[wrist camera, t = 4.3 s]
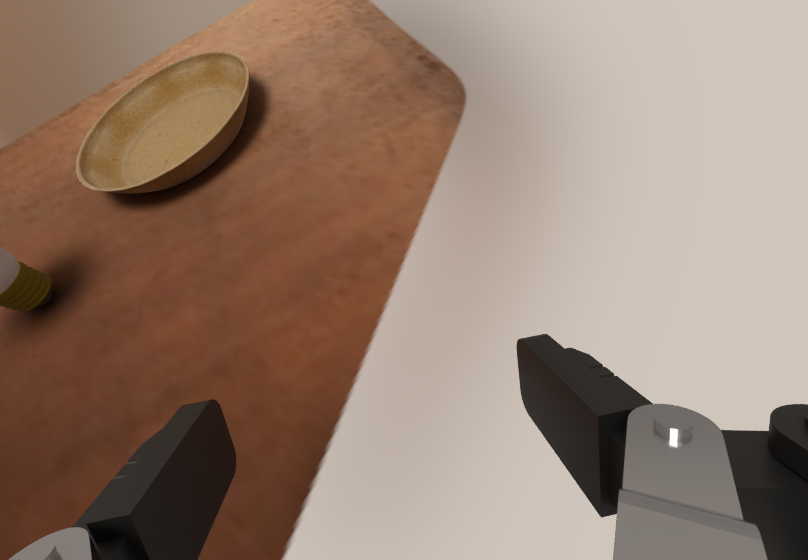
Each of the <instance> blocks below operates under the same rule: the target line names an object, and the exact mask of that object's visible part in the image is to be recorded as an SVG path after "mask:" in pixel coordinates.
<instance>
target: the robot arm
mask: <svg viewBox="0 0 808 560" xmlns="http://www.w3.org/2000/svg"><path fill="white" fill-rule="evenodd" d="M517 357H518V368H519V379H520V389H521V396H522V400H523V403H524V406H525V408H526V410H527V412H528V414H529V416H530V417H531V419H532V420H533V421H534V423H535V424H536V426H537V427H538V429H539V430H540V431H541V433H542V434H543V435H544V437H545V438H546V440H547V441H548V443H549V444H550V446H551V447H552V448H553V450H554V451H555V453H556V454H557V455H558V457H559V458H560V460H561V461H562V463H563V464H564V465H565V467H566V468H567V470H568V471H569V472H570V474H571V475H572V477H573V478H574V480H575V481H576V482H577V484H578V485H579V487H580V488H581V489H582V491H583V492H584V494H585V495H586V496H587V498H588V499H589V501H590V502H591V504H592V505H593V506H594V508H595V509H596V511H597V512H598V514H599V515H600V516H601V517H605V516H610V515H614V514H617V521H616V532H615V545H614V556H613V560H808V405H805V404H793V405H785V406H781V407H778V408H776V409H775V410H773V412H772V413H771V416H770V425H769V431H732V430H720V429H719V428H718V426H717V425H716V424H715V423H713V422H712V421H711V420H710V419H708V418H707V417H705V416H703V415H701V414H699V413H697V412H695V411H692V410H689V409H687V408H683V407H679V406H674V405H667V404H652V403H651V402H650V401H649V400H647V399H646V398H645V397H643V396H642V395H641V394H639V393H638V392H637V391H636V390H634V389H633V388H632V387H630V386H629V385H628V384H627V383H625V382H624V381H623V380H621V379H620V378H619V377H618V376H614V373H612V372H611V371H610V370H608V369H607V368H606V367H603V365H602V364H601V363H599V362H598V361H597V360H595V359H594V358H593V357H592V356H590V355H589V354H586V353H583V352H581V351H578V350H576V349H573V348H566V349H564V348H563V347H562V346H561V345H560V344H558V343H557V342H556V341H555V340H553V339H552V338H551V337H550V336H549V335H547V334H542V335H537V336H532V337H527V338H522V339H519V340H518V341H517ZM235 470H236V453H235V448H234V445H233V442H232V439H231V436H230V433H229V430H228V427H227V424H226V421H225V418H224V415H223V412H222V409H221V407H220V405H219V403H218V402H217V401H216V400H213V399H212V400H207V401H202V402H197V403H192V404H187V405H183V406H181V407H180V408H179V409H178V411H177V412H176V413H175V414H174V415H173V417H172V418H171V419H170V420H169V422H168V423H167V424H166V425H165V427H164V428H163V429H161V430H160V431H159V432H157V433H156V434H155V435H154V436H152V437H151V438H150V439H148V440H147V441H146V442H145V443H143V444H142V445H141V446H140V447H139V448H138V449H137V451H136V452H135V453H134V454H133V455H132V457H131V458H130V459H129V460H128V461H127V465H124V466H123V467H122V469H121V470H120V471H119V472H118V473H117V474H116V476H115V479H113V480H111V482H110V483H109V484H108V485H107V486H106V488H105V489H104V490H103V491H102V492H101V494H100V495H99V496H98V497H97V498H96V499H95V501H94V502H93V503H92V504H91V505H90V507H89V508H88V509H87V510H86V511H85V513H84V514H83V515H82V516H81V517H80V519H79V520H78V521H77V522H76V523H75V525H74V526H73V527H72V528H67V529H63V530H60V531H57V532H54V533H52V534H50V535H47V536H45V537H43V538H41V539H39V540H37V541H35V542H34V543H32V544H30V545H29V546H27V547H26V548H24V549H22V550H21V551H19V552H18V553H17V554H15V555H14V556H13V557H11V558H10V559H9V560H197V559H198V557H199V555H200V552H201V550H202V548H203V546H204V543H205V541H206V539H207V536H208V534H209V532H210V530H211V527H212V525H213V523H214V520H215V518H216V516H217V514H218V511H219V509H220V507H221V504H222V502H223V500H224V498H225V495H226V493H227V491H228V488H229V486H230V484H231V482H232V479H233V477H234V474H235Z"/></svg>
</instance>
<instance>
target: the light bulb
mask: <svg viewBox="0 0 808 560" xmlns="http://www.w3.org/2000/svg"><path fill="white" fill-rule="evenodd" d="M51 283H52V281H51V278H50V277H49V276H45V275H44V274H43V273H40V272H39V271H37V270H34V269H33V268H31V267H28V266H27V265H25V264H24V263H22V262H19V261H17V259H16V258H15V257H14V256H13V255H12V254H10V253H9V252H7V251H6V250H5V249H3V248H2V247H1V246H0V306H4V307H6V308H10V309H12V310H17V311H18V312H26V311H29V310H31V309H34V308H37V307H40V306H42V305H44V304H46V303H48V302H49V301H50V299H51V297H52V291H51Z"/></svg>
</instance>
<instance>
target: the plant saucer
mask: <svg viewBox="0 0 808 560" xmlns="http://www.w3.org/2000/svg"><path fill="white" fill-rule="evenodd" d="M248 96H249V70H248V66H247V64H246V62H245V61H244V59H243V58H242V57H240V56H239V55H237V54H235V53H231V52H228V51H210V52H203V53H199V54H195V55H191V56H188V57H186V58H183V59H181V60H178V61H175V62H173V63H171V64H169V65H167V66H165V67H163V68H161V69H159V70H158V71H156V72H154V73H152V74H151V75H149V76H147V77H146V78H145V79H143V80H142V81H140V82H138V83H137V84H136V85H134V86H133V87H132V88H130V89H129V90H128V91H127V92H126V93H124V94H123V95H122V96H121V97H120V98H118V99H117V100H116V101H115V102H114V103H113V104H112V105H111V106H110V107H109V108H108V109H107V110H106V111H105V112H104V113H103V114H102V115H101V116H100V118H99V119H98V120H97V121H96V122H95V124H94V125H93V127H92V128H91V129H90V131H89V132H88V134H87V135H86V138H85V139H84V141H83V144H82V145H81V147H80V151H79V153H78V156H77V161H76V173H77V176H78V179H79V180H80V182H81V183H82V184H83V185H84V186H86V187H88V188H89V189H92V190H96V191H102V192H110V193H145V192H153V191H159V190H164V189H167V188H171V187H173V186H176V185H179V184H181V183H183V182H185V181H187V180H189V179H191V178H192V177H194V176H196V175H197V174H199V173H200V172H202V171H203V170H204V169H206V168H207V167H208V166H210V165H211V164H212V163H213V162H214V161H216V160H217V159H218V158H219V157H220V156H221V155H222V154H223V153H224V152H225V151H226V150H227V148H228V147H229V146H230V145H231V143H232V142H233V141H234V139H235V138H236V136H237V134H238V133H239V131H240V129H241V126H242V124H243V121H244V118H245V113H246V109H247V103H248Z"/></svg>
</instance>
